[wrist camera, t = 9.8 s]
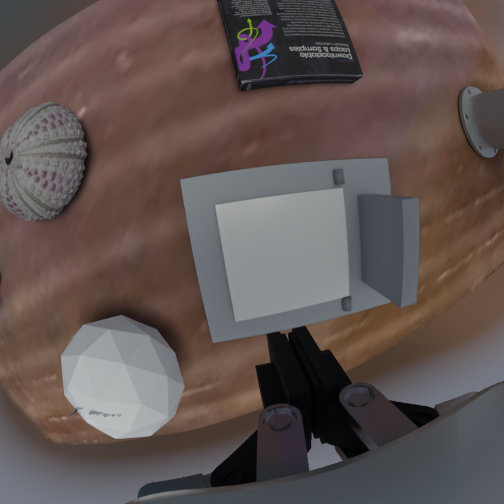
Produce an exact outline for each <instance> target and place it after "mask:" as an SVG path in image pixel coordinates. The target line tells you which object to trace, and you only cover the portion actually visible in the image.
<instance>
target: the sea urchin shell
mask: <svg viewBox="0 0 504 504" xmlns="http://www.w3.org/2000/svg"><path fill="white" fill-rule="evenodd" d="M82 130H83V129H82V128H81V124H79V121H78V120H77V118H76V115H73V113H71V112H70V110H68V109H67V107H62V106H60V104H59V103H56V102H47V101H46V102H45V103H42V104H41V105H40V106H37V107H32V109H30V110H28V111H27V112H26V113H25V114H24V115H22V116H21V117H20V118H19V119H18V120H16V122H15V123H14V124H13V125H12V126H10V127H9V128H8V129H6V132H4V135H3V137H2V138H1V139H0V201H1V202H2V204H3V205H4V206H6V209H9V211H10V212H13V213H14V215H15V214H17V217H22V218H24V219H25V220H26V221H28V220H29V221H30V220H32V221H35V220H43V219H44V218H45V219H46V218H48V219H51V218H54V217H55V215H59V212H62V210H63V207H64V206H65V205H67V204H68V203H69V201H71V198H72V197H74V196H75V192H76V191H77V189H78V186H79V185H80V184H81V182H80V180H81V179H82V177H83V170H84V169H85V167H84V159H85V158H86V156H87V153H86V151H85V150H86V148H87V143H85V142H84V139H83V138H84V132H83V131H82Z"/></svg>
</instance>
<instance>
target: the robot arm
mask: <svg viewBox="0 0 504 504" xmlns="http://www.w3.org/2000/svg"><path fill="white" fill-rule="evenodd" d="M459 113H460V118H461V122H462V126H463V129H464V132H465V134H466V136H467V139H468V141H469V142H470V144H471V146H472V147H473V149H474V150H475V151H476V152H477V153H478V154H479V155H480V156H481V157H484V158H492V157H494V156H495V155H496V153H497V151H498V149H504V89H499V90H494V91H489V92H484V93H483V92H481V91H480V90H479V89H478V88H476V87H473V86H469V87H466V88H464V89H463V90H462V91H461V93H460V97H459ZM288 338H289V341H288V339H287V337H286V334H285V333H284V334H281V333H280V331H278V332H273V333H268V334H267V340H268V347H269V354H270V361H271V363H267V364H262V365H256V372H257V378H258V383H259V388H260V393H261V398H262V402H263V406H264V410H263V411H262V412H261V413H260V415H259V417H258V429H257V430H256V431H255V432H254V433H253V434H252V435H251V436H250V437H249V438H248V439H247V440H246V441H245V442H244V443H243V444H242V445H241V446H240V447H239V448H238V449H237V450H236V451H234V452H233V453H232V454H231V455H230V456H229V457H228V458H227V459H226V460H225V461H223V463H221V464H220V465H219V466H218V467H217V468H216V469H215V470H214V471H213V472H212V473H210V474H207V475H202V473H200V474H196V475H191V476H187V477H182V478H176V479H171V480H165V481H159V482H152V483H149V484H146V485H144V486H143V487H141V488H140V490H139V492H138V498H137V499H135V500H132V501H130V502H128V503H126V504H504V381H503V382H499V383H496V384H494V385H492V386H489V387H488V388H485V389H483V390H482V391H480V392H470V393H467V394H465V395H462V396H459V397H457V398H455V399H451V400H449V401H446V402H443V403H440V404H437V405H435V407H434V408H431V407H427V406H421V405H415V404H408V403H402V402H396V401H391V400H388V399H387V398H386V397H385V396H384V395H383V394H381V392H379V390H377V389H376V388H375V387H374V386H372V385H370V384H367V383H354V384H352V382H351V381H350V379H349V378H348V376H347V375H346V373H345V372H344V370H343V369H342V367H341V366H340V364H339V363H338V361H337V360H336V358H335V357H334V355H333V354H332V352H331V351H330V350H324V351H320V349H319V347H318V346H317V344H316V342H315V341H314V339H313V338H312V336H311V334H310V333H309V331H308V329H307V328H306V326H301V327H297V328H293V329H292V332H289V333H288ZM311 433H313V436H314V438H315V439H316V438H320V441H321V443H322V444H324V443H328V444H331V445H334V446H335V450H336V452H337V453H338V455H339V456H340V458H341V459H342V460H343V461H341V462H338V463H335V464H332V465H329V466H325V467H322V468H319V469H315V470H311V471H309V464H308V458H307V453H308V452H309V450H310V449H311V439H312V437H311V435H312V434H311Z"/></svg>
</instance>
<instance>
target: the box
mask: <svg viewBox="0 0 504 504" xmlns="http://www.w3.org/2000/svg"><path fill="white" fill-rule="evenodd" d="M217 1H218V5H219V9H220V12H221V16H222V20H223V24H224V28H225V32H226V36H227V39H228V44H229V48H230V52H231V56H232V59H233V64H234V68H235V72H236V76H237V80H238V84H239V88H240V91H242V90H249V89H256V88H263V87H272V86H282V85H294V84H309V83H353V82H355V81H357V80H358V79H360V78H362V77H363V73H362V70H361V67H360V64H359V61H358V58H357V55H356V52H355V49H354V47H353V44H352V41H351V39H350V36H349V33H348V31H347V28H346V26H345V23H344V21H343V19H342V16H341V14H340V12H339V10H338V7H337V5H336V3H335V1H334V0H217Z"/></svg>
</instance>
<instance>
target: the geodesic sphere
mask: <svg viewBox="0 0 504 504" xmlns="http://www.w3.org/2000/svg"><path fill="white" fill-rule="evenodd" d="M61 363H62V376H63V386H64V394H65V396H66V397H67V399H68V400H69V401H70V403H71V404H72V405H73V406H74V408H75V409H74V410H73V412H74V414H75V413H76V412H77V411H78V413H79V414H80V415H81V416H82V417H83V418H84V420H85V421H86V422H87V423H89V424H90V425H92V426H94V427H95V428H97V429H99V430H101V431H102V432H104V433H106V434H108V435H110V436H112V437H113V438H115V439H119V438H134V437H145V436H151V435H152V434H153V433H155V432H156V431H157V430H158V429H159V428H161V427H162V426H163V425H164V424H165V423H167V422H168V421H169V420H170V419H171V418H172V417H174V416H175V414H176V411H177V408H178V405H179V402H180V399H181V396H182V393H183V390H184V387H185V386H184V383H183V379H182V376H181V372H180V369H179V365H178V361H177V358H176V354H175V352H174V351H173V350H172V348H171V347H170V346H169V345H168V343H167V342H166V341H165V340H164V338H163V337H162V336H161V334H160V333H159V332H158V330H157V329H155V328H153V327H150V326H147V325H145V324H142V323H140V322H137V321H135V320H132V319H130V318H128V317H125V316H123V315H119V316H115V317H111V318H107V319H104V320H100V321H96V322H92V323H88V324H84V325H83V326H82V327H81V328H80V329H79V330H78V332H77V333H76V334H75V335H74V336H73V337H72V339H71V341H70V342H69V344H68V346H67V347H66V349H65V351H64V352H63V354H62V356H61ZM74 414H73V413H72V417H73V416H74ZM72 417H71V418H72ZM71 418H70V419H71Z"/></svg>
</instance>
